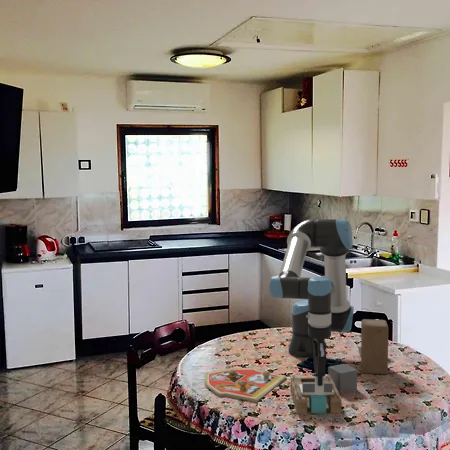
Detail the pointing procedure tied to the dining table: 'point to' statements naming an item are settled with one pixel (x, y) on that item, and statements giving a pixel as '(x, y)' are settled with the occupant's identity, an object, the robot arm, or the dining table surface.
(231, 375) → the knob puzzle
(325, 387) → the lid
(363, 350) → the wooden block
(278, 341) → the dining table surface
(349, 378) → the stand
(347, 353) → the dining table surface
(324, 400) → the block
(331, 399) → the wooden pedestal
